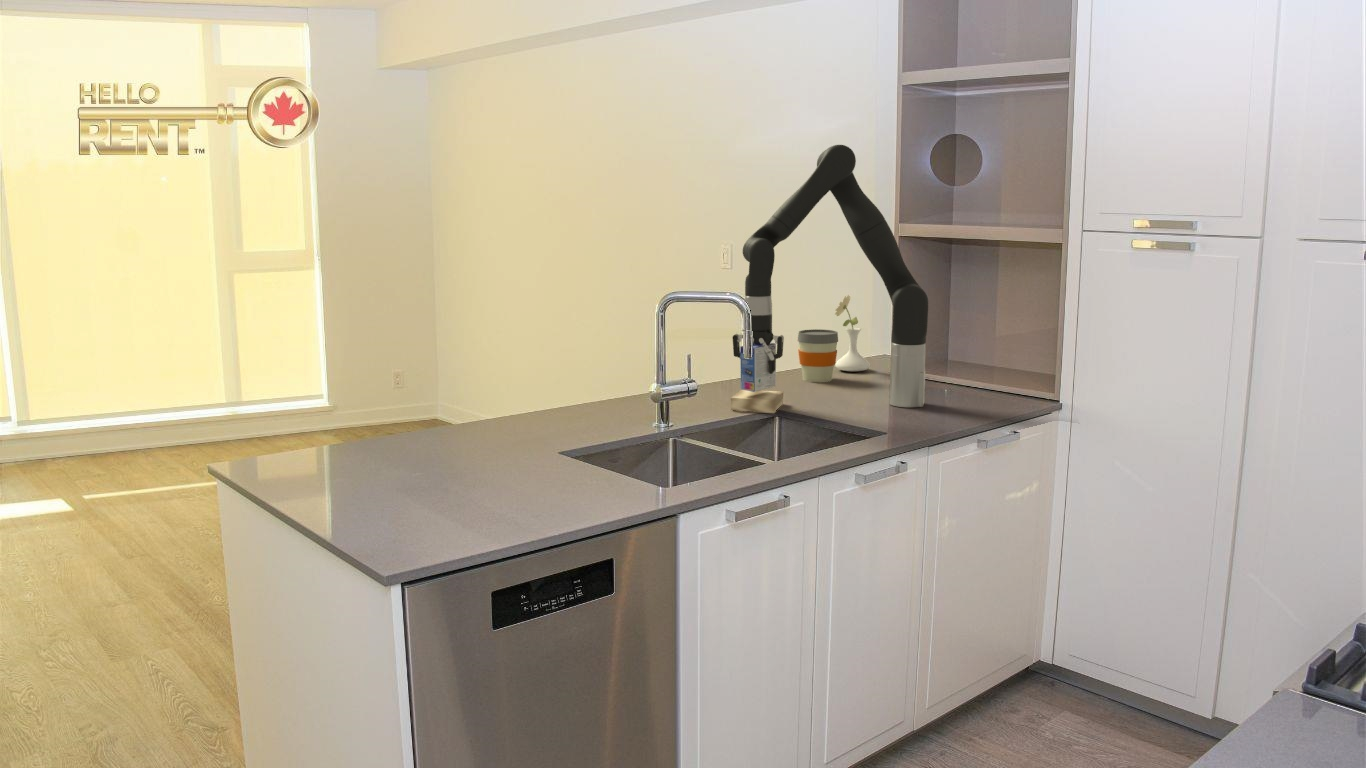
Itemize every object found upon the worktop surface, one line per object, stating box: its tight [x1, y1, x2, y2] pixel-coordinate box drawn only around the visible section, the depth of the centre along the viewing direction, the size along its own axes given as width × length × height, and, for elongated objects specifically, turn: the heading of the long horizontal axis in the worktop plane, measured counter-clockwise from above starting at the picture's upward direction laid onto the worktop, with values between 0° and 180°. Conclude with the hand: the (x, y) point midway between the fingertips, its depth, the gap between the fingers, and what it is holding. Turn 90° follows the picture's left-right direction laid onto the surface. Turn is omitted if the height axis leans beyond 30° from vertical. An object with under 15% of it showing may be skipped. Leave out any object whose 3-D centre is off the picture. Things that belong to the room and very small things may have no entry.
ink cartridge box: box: [739, 342, 777, 392], centre depth 286 cm, size 10×6×14 cm, turn 139°
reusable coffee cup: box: [797, 328, 839, 383], centre depth 327 cm, size 13×13×15 cm
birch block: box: [730, 389, 784, 414], centre depth 288 cm, size 12×12×4 cm
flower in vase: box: [834, 294, 871, 372], centre depth 341 cm, size 13×11×25 cm
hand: (758, 372), depth 287 cm, fingers closed on ink cartridge box, 7 cm apart
